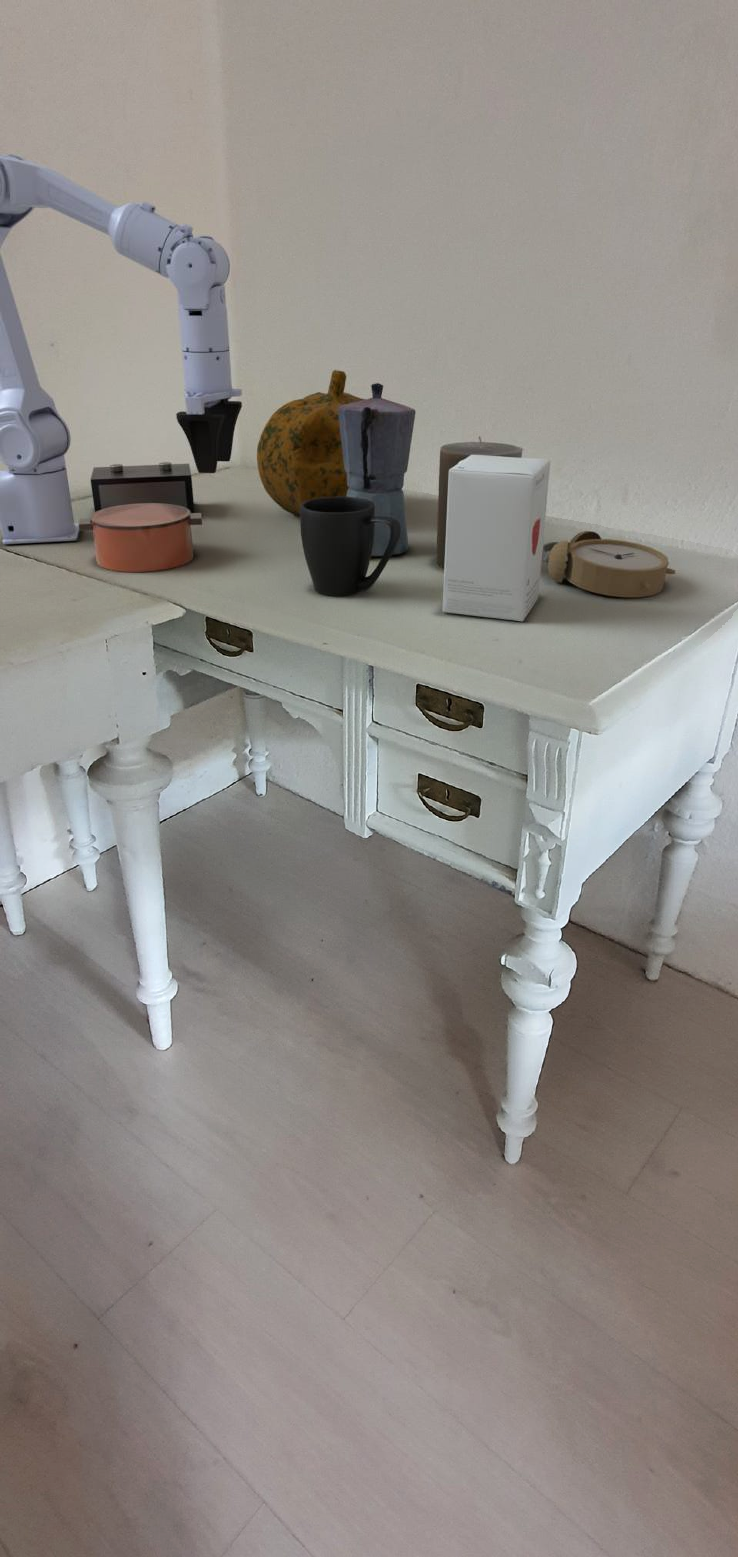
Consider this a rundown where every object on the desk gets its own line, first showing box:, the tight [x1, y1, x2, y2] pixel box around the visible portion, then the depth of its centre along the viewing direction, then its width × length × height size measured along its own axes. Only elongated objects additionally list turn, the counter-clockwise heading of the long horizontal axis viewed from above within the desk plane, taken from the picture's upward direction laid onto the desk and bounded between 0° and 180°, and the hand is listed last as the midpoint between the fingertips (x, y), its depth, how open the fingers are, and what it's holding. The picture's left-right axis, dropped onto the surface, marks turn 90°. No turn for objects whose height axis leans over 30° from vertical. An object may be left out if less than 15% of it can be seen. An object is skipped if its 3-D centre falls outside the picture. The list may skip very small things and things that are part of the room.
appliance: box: [90, 461, 196, 513], centre depth 142 cm, size 14×9×7 cm, turn 101°
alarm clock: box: [542, 530, 676, 598], centre depth 112 cm, size 11×5×15 cm
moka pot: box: [338, 382, 416, 557], centre depth 119 cm, size 10×15×20 cm, turn 174°
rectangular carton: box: [442, 455, 551, 622], centre depth 101 cm, size 9×9×15 cm
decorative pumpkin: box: [256, 369, 367, 516], centre depth 138 cm, size 20×21×20 cm
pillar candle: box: [436, 435, 524, 569], centre depth 116 cm, size 10×10×15 cm
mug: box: [299, 497, 400, 597], centre depth 107 cm, size 8×12×10 cm
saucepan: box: [78, 503, 203, 573], centre depth 121 cm, size 15×12×6 cm
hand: (214, 466), depth 123 cm, fingers open, 7 cm apart
